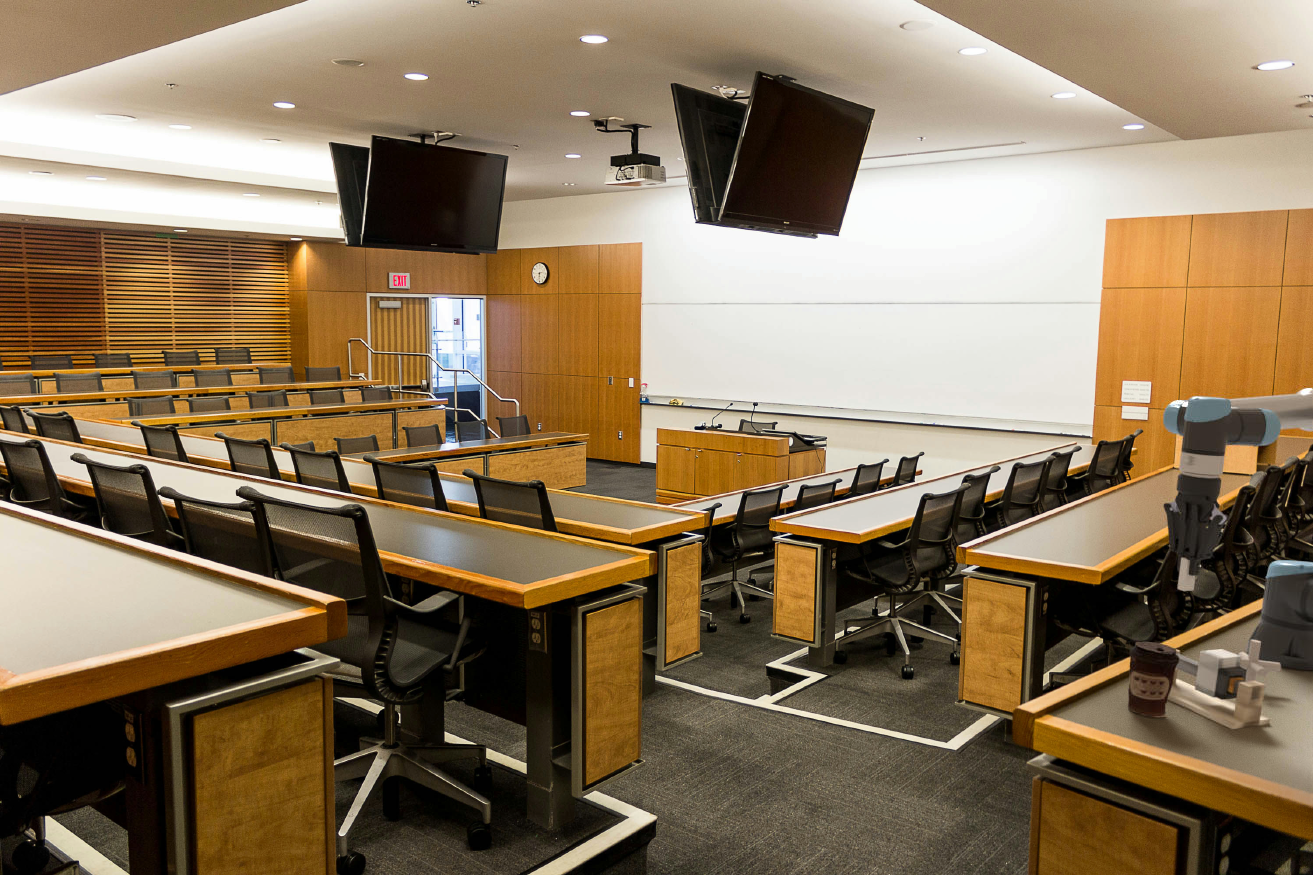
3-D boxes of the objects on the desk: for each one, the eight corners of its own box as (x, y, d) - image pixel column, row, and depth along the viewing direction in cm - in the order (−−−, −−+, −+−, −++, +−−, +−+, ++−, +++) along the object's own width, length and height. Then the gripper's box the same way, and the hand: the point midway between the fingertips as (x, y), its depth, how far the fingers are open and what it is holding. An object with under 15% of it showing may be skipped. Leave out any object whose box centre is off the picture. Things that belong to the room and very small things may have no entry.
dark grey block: (1234, 693, 179) (1239, 666, 178) (1242, 697, 178) (1247, 669, 177) (1214, 696, 177) (1218, 668, 176) (1222, 699, 175) (1226, 671, 175)
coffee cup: (1171, 725, 171) (1180, 658, 169) (1121, 713, 175) (1130, 647, 173) (1171, 709, 179) (1180, 645, 177) (1123, 698, 183) (1132, 635, 181)
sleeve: (1216, 686, 183) (1222, 648, 182) (1235, 694, 179) (1241, 656, 178) (1194, 689, 181) (1200, 650, 180) (1213, 697, 177) (1219, 658, 176)
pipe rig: (1176, 683, 193) (1181, 646, 192) (1269, 723, 175) (1275, 683, 174) (1141, 687, 190) (1146, 649, 189) (1232, 728, 171) (1238, 687, 170)
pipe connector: (1286, 699, 188) (1293, 652, 187) (1232, 692, 190) (1239, 645, 189) (1264, 681, 198) (1271, 636, 197) (1213, 674, 200) (1220, 630, 199)
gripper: (1157, 469, 188) (1144, 581, 191) (1216, 480, 176) (1201, 600, 179) (1184, 468, 191) (1170, 579, 194) (1244, 480, 179) (1228, 597, 182)
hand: (1185, 589), depth 187 cm, fingers closed
